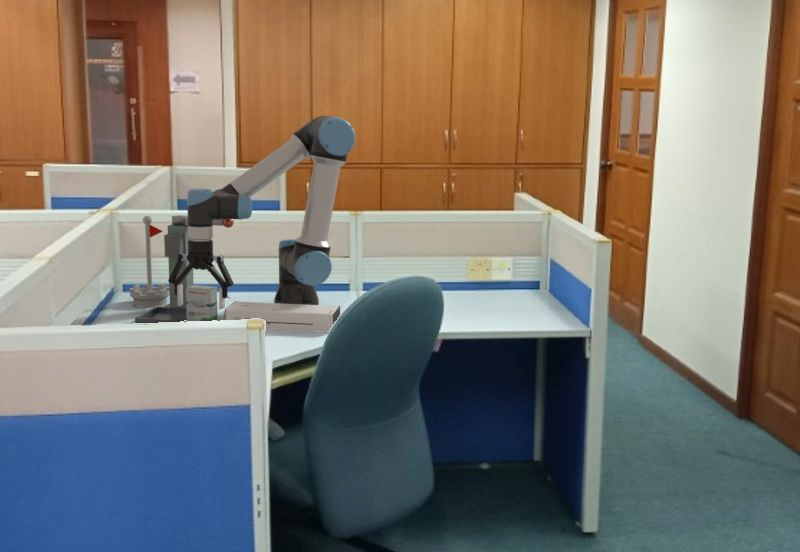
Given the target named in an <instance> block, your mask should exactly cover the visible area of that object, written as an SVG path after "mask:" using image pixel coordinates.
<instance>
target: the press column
mask: <svg viewBox="0 0 800 552" xmlns="http://www.w3.org/2000/svg"><path fill="white" fill-rule="evenodd" d="M163 238H164V239H163V240H164V241H163V242H164V244H163V245H164V258H168V259H167V260H168V279H169V278H170V276H171V274H172V272H173V270H174V267H175V265H176V263H177V261H178V255H179V254H181V253H184V254H186V255H188V241H189V240H190V239H189V238H188V224H185V225H174V224H172V223H171V224H169V225H167V234H164V235H163ZM189 264H190V263H189V261H188V260H187V259H186V260H185V261H184V262H183V265H182V267H181V269H180V271H179V273H178V275H177V277H176V279H177V278H178V277H179V276H180V275H181V274H182V272H183V271H184V270H185V269H186V267H187V266H188V265H189ZM180 284H183V305H181V306H178V304H177V295H175V287H174V284H173V283H169V282H168V285H169V292H170V295H169V303H167V304H165V305H163V307H173V308H187V307H186V288H187V287H189V286H193V285H195V284H194V268H193V269H192V270H191V271H190V272H189V273H188V275H187V276H186V277H185V278H184V279H183V280H182V282H181V283H180Z"/></svg>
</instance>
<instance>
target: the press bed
mask: <svg viewBox="0 0 800 552" xmlns="http://www.w3.org/2000/svg"><path fill="white" fill-rule="evenodd" d="M184 320H187V308H173V307H164V306H157V307H153V308H151V309H149V310H146V311H145V312H143V313H142V314H140V315H138V316H136V317H135V318H134V324H135V323H158V322H180V321H184Z"/></svg>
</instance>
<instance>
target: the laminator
mask: <svg viewBox="0 0 800 552" xmlns="http://www.w3.org/2000/svg"><path fill="white" fill-rule="evenodd" d="M339 315H340V316H341V306H340V305H324V304H319V305H303V304H281V303H274V302H258V301H257V302H255V301H234V302H232V303H231V304H229V305H228V306H227V307H225V308H224V321H225V320H241V319H251V318H261V319H264V320H265V321H266V329H265V330H268V331H269V330H270V331H271V330H272V331H273V330H274V331H275V330H276V331H289V330H299V331H298V332H309V331H321V332H320V333H328V332H327V331H329V330H330V328H331V327H332V325H333V324H334V322H335V321H336V320H337V318H338V317H339ZM322 331H323V332H322Z"/></svg>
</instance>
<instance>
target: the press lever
mask: <svg viewBox="0 0 800 552" xmlns="http://www.w3.org/2000/svg"><path fill="white" fill-rule="evenodd" d="M234 223H235V222H234V219H220V220H213V226H215V227H216V226H218V227H220V226H221V227H222V226H223V227H225V228H229V229H230V228H231V227H233V226H234ZM171 224H174V225H185V224H188V215H182V214H181V215H173V216H171Z"/></svg>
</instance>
